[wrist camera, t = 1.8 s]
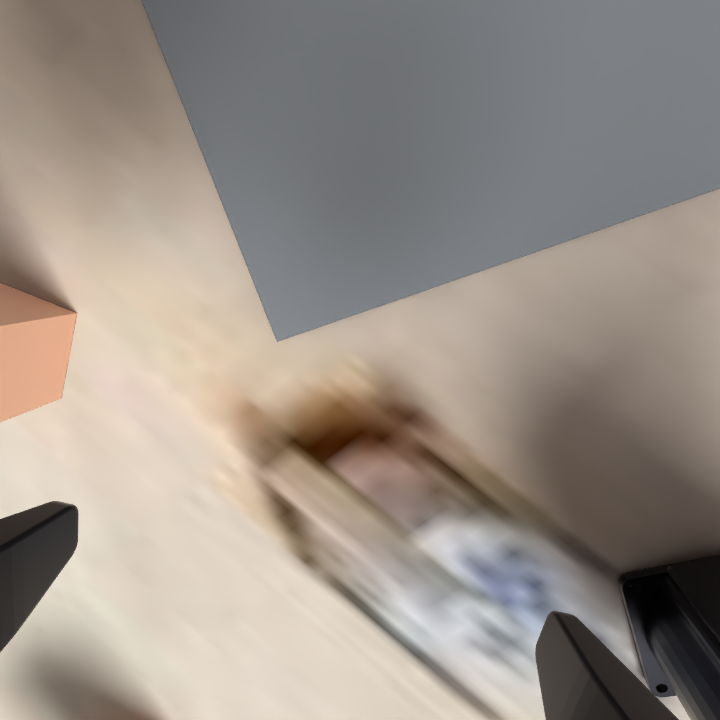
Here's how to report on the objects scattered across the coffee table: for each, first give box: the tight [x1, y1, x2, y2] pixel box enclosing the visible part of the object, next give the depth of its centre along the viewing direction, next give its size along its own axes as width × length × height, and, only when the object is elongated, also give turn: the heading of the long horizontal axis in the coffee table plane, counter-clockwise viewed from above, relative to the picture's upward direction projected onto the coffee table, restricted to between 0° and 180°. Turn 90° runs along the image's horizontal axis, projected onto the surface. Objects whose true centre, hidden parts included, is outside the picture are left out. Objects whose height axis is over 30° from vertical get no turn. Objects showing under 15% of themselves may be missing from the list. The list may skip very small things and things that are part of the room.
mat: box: [142, 0, 720, 342], centre depth 16 cm, size 16×20×1 cm
